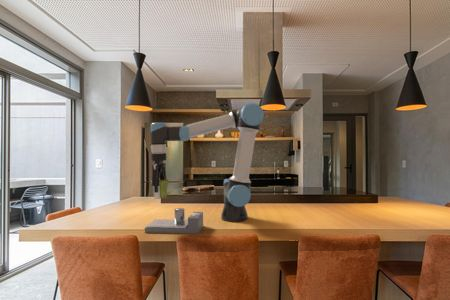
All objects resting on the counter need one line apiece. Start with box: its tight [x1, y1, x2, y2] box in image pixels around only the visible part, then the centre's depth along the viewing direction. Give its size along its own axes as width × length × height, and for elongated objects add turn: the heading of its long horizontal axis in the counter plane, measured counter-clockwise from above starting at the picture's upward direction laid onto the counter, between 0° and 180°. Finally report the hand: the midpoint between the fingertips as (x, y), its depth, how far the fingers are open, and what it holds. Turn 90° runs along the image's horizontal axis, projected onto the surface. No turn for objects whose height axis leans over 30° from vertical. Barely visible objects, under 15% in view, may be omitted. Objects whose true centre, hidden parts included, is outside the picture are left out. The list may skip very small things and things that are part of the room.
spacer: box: [174, 207, 186, 224], centre depth 160 cm, size 5×5×7 cm
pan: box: [146, 218, 188, 228], centre depth 160 cm, size 20×12×1 cm, turn 83°
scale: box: [144, 211, 204, 235], centre depth 160 cm, size 27×13×8 cm, turn 83°
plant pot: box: [150, 178, 170, 199], centre depth 160 cm, size 9×9×9 cm
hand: (160, 196), depth 161 cm, fingers closed on plant pot, 8 cm apart
